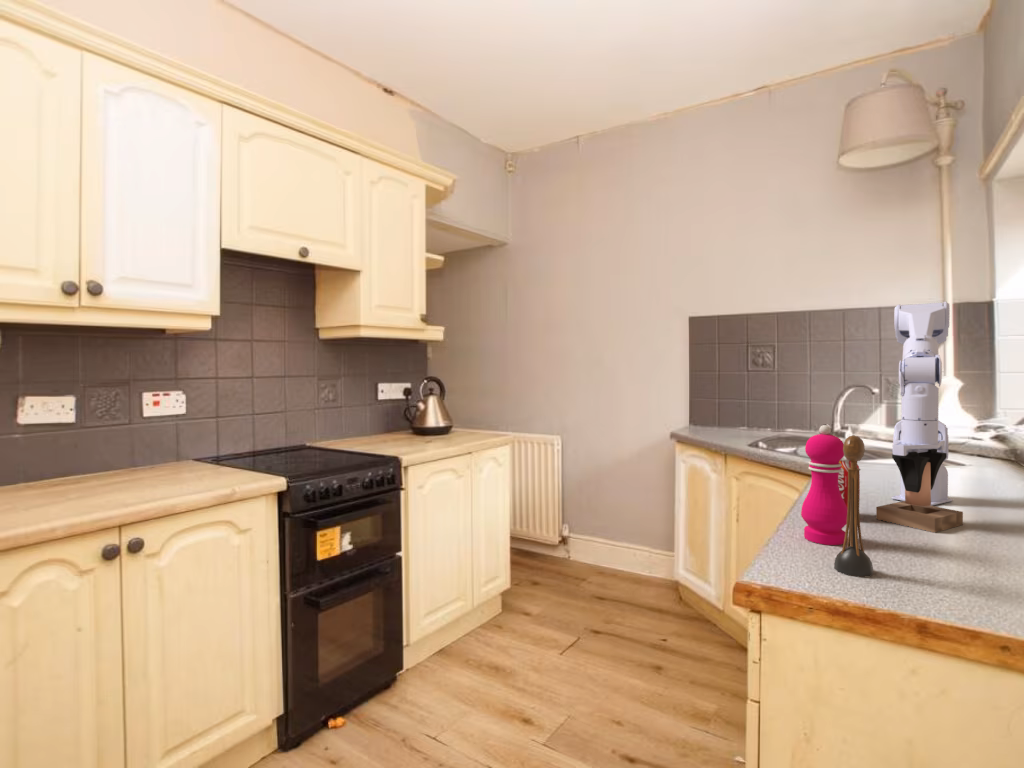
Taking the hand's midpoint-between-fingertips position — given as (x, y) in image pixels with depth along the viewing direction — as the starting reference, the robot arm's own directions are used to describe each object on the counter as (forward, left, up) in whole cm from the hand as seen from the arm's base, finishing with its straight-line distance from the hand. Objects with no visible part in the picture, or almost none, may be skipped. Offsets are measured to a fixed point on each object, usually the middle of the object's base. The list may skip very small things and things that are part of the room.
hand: (918, 490), depth 105 cm
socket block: (0, 0, -6) cm, 6 cm away
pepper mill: (+26, -2, -6) cm, 27 cm away
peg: (0, 0, -3) cm, 3 cm away
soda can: (+9, -10, -6) cm, 15 cm away
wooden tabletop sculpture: (+36, +9, -6) cm, 38 cm away
